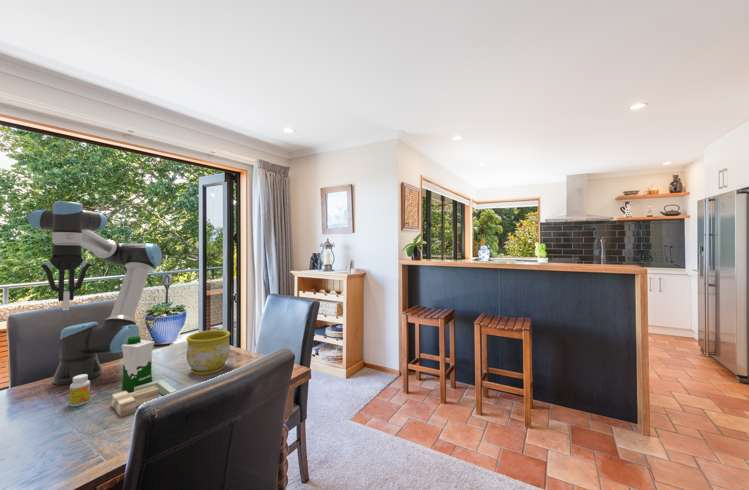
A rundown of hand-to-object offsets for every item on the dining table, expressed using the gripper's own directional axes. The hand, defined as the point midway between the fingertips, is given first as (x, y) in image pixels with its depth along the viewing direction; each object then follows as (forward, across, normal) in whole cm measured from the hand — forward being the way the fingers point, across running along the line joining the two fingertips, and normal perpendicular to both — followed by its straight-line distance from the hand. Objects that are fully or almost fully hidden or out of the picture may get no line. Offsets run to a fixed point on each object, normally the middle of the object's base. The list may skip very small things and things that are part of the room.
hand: (65, 309), depth 109 cm
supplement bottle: (+35, +4, -2) cm, 35 cm away
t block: (+35, +17, -19) cm, 43 cm away
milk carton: (+35, +21, -3) cm, 41 cm away
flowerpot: (+35, +47, -7) cm, 59 cm away
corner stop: (+34, +23, -18) cm, 45 cm away
